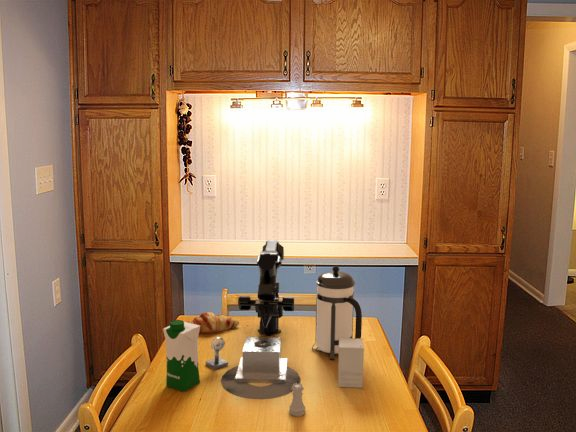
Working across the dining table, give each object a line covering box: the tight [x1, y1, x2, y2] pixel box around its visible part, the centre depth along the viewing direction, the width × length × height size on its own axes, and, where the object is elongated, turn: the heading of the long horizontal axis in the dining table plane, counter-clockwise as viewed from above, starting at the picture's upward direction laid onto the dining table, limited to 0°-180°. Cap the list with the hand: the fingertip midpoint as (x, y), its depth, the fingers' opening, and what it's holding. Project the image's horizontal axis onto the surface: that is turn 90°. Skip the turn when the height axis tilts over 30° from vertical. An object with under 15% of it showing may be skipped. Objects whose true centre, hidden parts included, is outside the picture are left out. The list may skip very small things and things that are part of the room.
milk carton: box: [162, 319, 201, 393], centre depth 162 cm, size 9×9×20 cm
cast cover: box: [235, 336, 288, 383], centre depth 171 cm, size 15×15×9 cm
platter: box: [220, 365, 301, 400], centre depth 167 cm, size 24×24×1 cm
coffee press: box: [311, 265, 363, 361], centre depth 185 cm, size 17×16×30 cm
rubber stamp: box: [205, 336, 229, 371], centre depth 176 cm, size 5×5×10 cm
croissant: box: [186, 311, 240, 334], centre depth 206 cm, size 21×10×8 cm, turn 106°
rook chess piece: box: [288, 382, 306, 417], centre depth 148 cm, size 4×4×8 cm
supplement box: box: [337, 337, 365, 389], centre depth 165 cm, size 7×7×13 cm
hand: (265, 327), depth 181 cm, fingers closed
